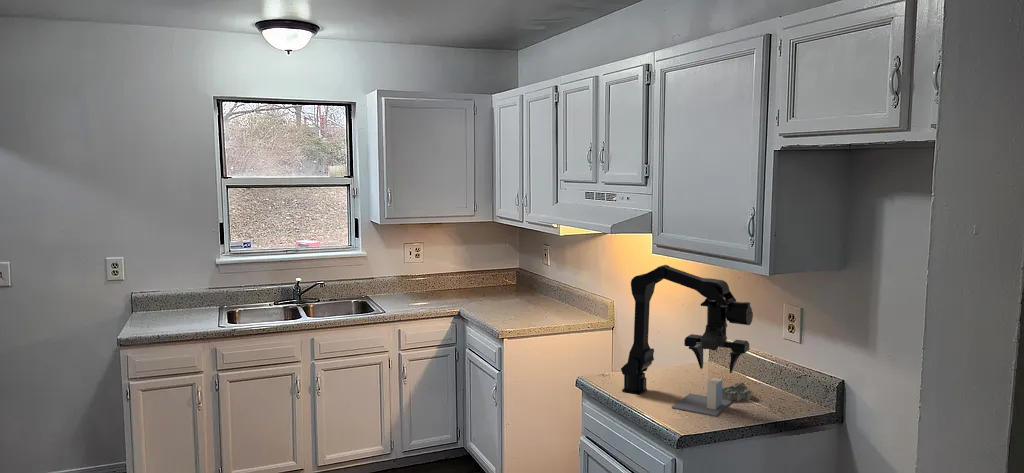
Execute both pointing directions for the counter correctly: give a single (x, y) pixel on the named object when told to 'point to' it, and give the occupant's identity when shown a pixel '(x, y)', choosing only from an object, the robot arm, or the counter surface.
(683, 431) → the counter surface
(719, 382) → the card box
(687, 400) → the mat
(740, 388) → the egg carton
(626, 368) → the robot arm
